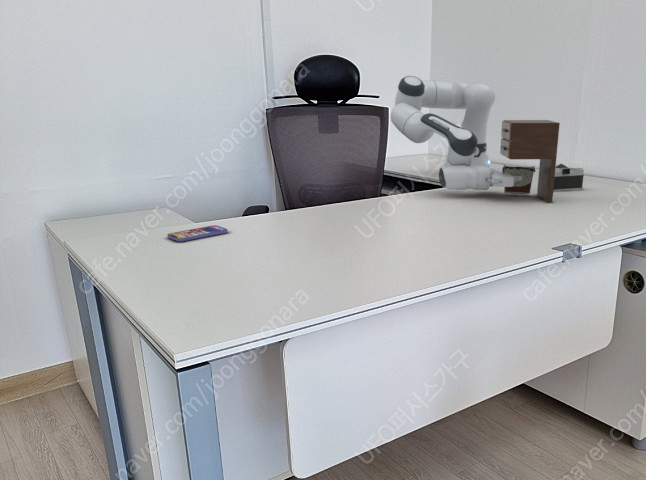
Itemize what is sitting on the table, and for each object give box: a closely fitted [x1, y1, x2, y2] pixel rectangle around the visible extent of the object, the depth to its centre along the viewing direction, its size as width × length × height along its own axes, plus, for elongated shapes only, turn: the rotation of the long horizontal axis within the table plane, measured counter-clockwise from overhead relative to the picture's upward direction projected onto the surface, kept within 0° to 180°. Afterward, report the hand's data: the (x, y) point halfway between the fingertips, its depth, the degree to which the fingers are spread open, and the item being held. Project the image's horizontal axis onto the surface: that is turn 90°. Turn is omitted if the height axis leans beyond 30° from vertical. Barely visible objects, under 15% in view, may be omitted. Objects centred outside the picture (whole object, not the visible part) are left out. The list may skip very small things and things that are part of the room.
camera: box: [553, 163, 585, 192], centre depth 232 cm, size 16×9×10 cm, turn 108°
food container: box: [501, 164, 536, 195], centre depth 220 cm, size 12×6×10 cm, turn 94°
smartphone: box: [166, 224, 228, 242], centre depth 164 cm, size 1×7×15 cm
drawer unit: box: [499, 119, 561, 204], centre depth 210 cm, size 14×17×27 cm
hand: (521, 177), depth 217 cm, fingers closed on food container
